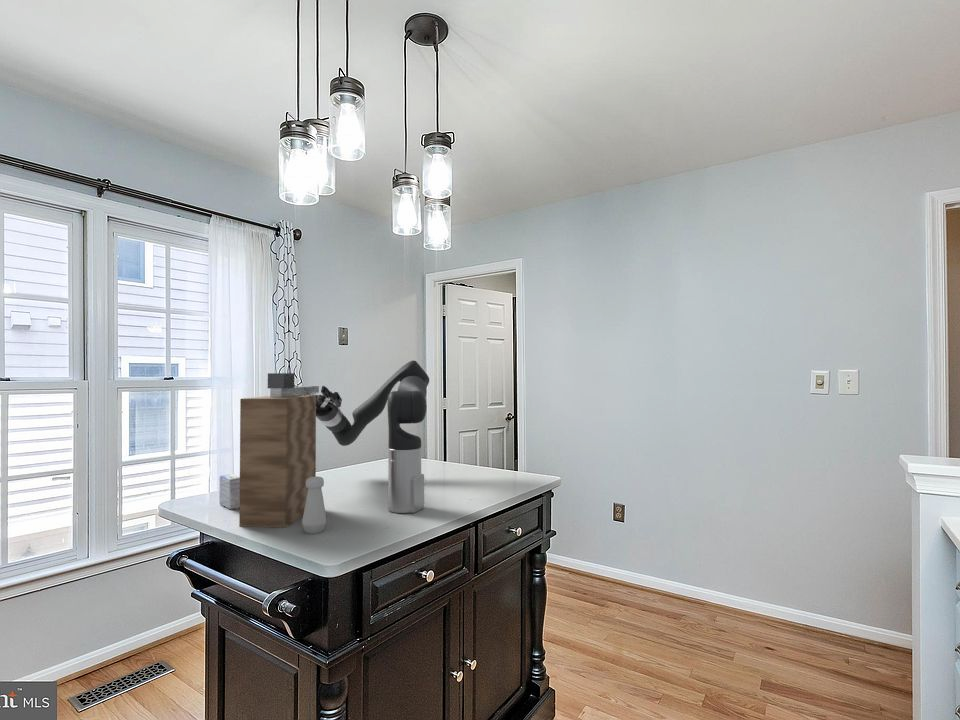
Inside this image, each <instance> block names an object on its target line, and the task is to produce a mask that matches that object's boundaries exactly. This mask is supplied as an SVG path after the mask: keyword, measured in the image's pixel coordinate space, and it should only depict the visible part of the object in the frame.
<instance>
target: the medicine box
mask: <svg viewBox="0 0 960 720" xmlns="http://www.w3.org/2000/svg"><path fill="white" fill-rule="evenodd" d="M219 506H222V507H224V506H225V508H227V509H228V510H235V509H240V508H239V507H240V474H238V473H228V474H227V473H226V474H223V475H220V476H219ZM234 508H235V509H234Z"/></svg>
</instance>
